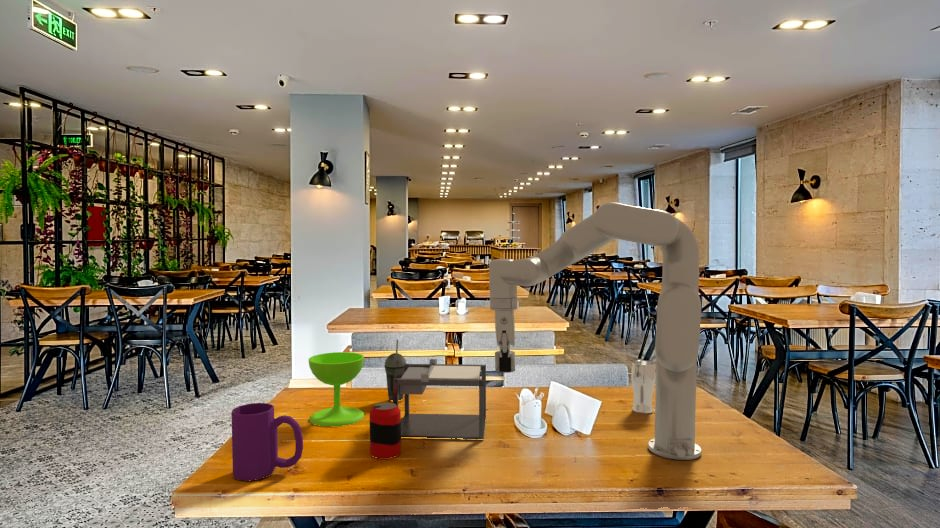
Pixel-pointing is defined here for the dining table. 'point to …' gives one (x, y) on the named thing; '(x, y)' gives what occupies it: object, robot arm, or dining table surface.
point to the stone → (512, 355)
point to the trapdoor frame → (442, 423)
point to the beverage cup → (394, 371)
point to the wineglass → (336, 385)
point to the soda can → (385, 430)
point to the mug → (259, 441)
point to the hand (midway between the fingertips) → (505, 368)
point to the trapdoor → (437, 375)
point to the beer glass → (643, 385)
